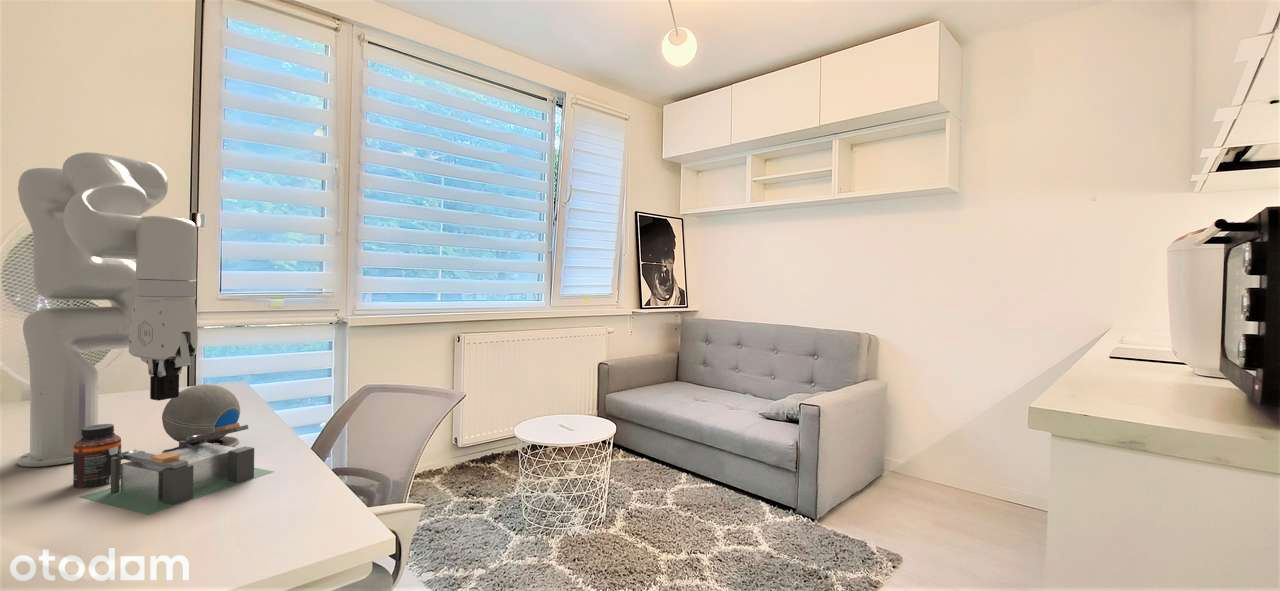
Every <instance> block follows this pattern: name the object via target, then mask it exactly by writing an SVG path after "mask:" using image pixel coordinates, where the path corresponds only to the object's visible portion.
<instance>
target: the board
mask: <svg viewBox="0 0 1280 591" xmlns="http://www.w3.org/2000/svg"><path fill="white" fill-rule="evenodd" d="M205 442H206V443H207V438H206V439H201V440H200V444H201V443H205ZM178 447H179V449H182V448H186V447H187V441H179V442H178ZM237 448H238V449H234V450H230V451H228V479H226V480H223V481H220V482H217V483H214V484H211V485H208V486H205V487H202V488H199V489H196V490H193V465H190V464H188V466H185V467H182V468H178V469H175V470H173V469H168V468H165V469H163V500H162V501H159V502H158V501H153V500H149V499H145V498H141V497H137V496H133V495H128V494H124V493H121V479H120V458H119V457H113V458H111V484H110V487H109V488H106V489H101V490H98V491H95V492H91V493H87V494H84V495H80V496H79V498H81V499H84V500H89V501H93V502H97V503H100V504H104V505H108V506H112V507H116V508H120V509H124V510H129V511H131V512H136V513H140V514H143V515H151V514H153V513H156V512H160V511H162V510H167V509H170V508H172V507H174V506H177V505H181V504H183V503H187V502H190V501H192V500H195V499H198V498H202V497H205V496H207V495H210V494H213V493H216V492H218V491H222V490H224V489H225V490H226V489H228V488H230V487H234V486H236V485H239V484H243V483H245V482H248V481H251V480H252V481H253V480H254V479H257V478H260V477H264V476H266V475H269V474H272V473H274V472H275V471H274V470H268V469H263V468H260V467H259V468H257V467H255V447H250V446H242V447H237ZM139 452H144V453H146V452H145V451H144V450H139Z"/></svg>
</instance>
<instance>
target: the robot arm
mask: <svg viewBox="0 0 1280 591" xmlns="http://www.w3.org/2000/svg"><path fill="white" fill-rule="evenodd" d="M18 179H19V180H18V183H17V184H18V185H17V194H18V199H19V202H20V206H21V208H22V210H23V212H24V215H25V217H26V218H27V221H28V223H29V225H30V228H31V231H32V235H33V236H32V239H33V282H34V283H33V284H34V288H35V292H36V293H37V294H38V296H40V297H41V298H44V299H46V300H52V301H107V302H108V301H109V303H110V305H111V306H58V307H49V308H48V307H47V308H42V309H38V310H36V311H33V312H31V313H30V314H29V315H27V316H26V317H25V319H24V321H23V324H22V332H23V338H24V342H25V346H26V350H27V355H28V365H29V452H28V453H24V454H23V455H21V456H19V457H18V458H17V465H19V466H21V467H28V468H29V467H31V468H34V467H35V468H36V467H49V466H58V465H59V466H60V465H65V464H70V463H73V453H74V450H73V448H74V444H75V443H76V442H77V441H78V440H80V439H82V437H83V436H82V435H81V434H82V428H84V427H88V426H92V425H99V373H98V370H97V368H96V366H95V365H94V364H93V363H92V362H90V361H89V360H88V359H87V358H85V357H84V356H83V355H82V354H81V353H86V352H91V351H95V352H96V351H105V350H118V349H120V350H121V349H128V353H129V354H130V355H131V356H133V357H137V358H140V360H141V361H142V362H143V363H145V364H146V365H147V369H148V375H149V376H150V385H149V386H150V387H149V390H150V391H149V398H150V400H152V401H157V402H158V401H164V400H169V399H170V400H171V399H172V398H176V397H178V396H179V392H180V375H181V374H182V371H183V370H182V369H183V367H188V366H190V365H191V362H192V361H191V357H194V356H196V354H197V352H198V341H199V331H198V329H199V328H198V317H197V315H198V314H197V307H196V302H195V301H196V299H197V256H198V255H197V254H198V252H197V251H198V249H197V248H198V228H197V225H196V224H195V222H193V221H192V220H189V219H186V218H180V217H172V216H160V215H146V216H144V215H142V214H144V213H147V212H148V211H149V210H151V209H152V208H154V207H156V206H157V205H159V204H160V203H161V202H162V201H163V200H164V199H165V198H166V196H167V193H168V190H169V182H168V177H167V176H166V174H165V172H164V170H162V168H161V167H159V166H158V165H156V164H155V163H152V162H149V161H145V160H141V159H140V160H139V159H134V158H129V157H125V156H124V157H123V156H118V155H112V154H107V153H106V154H105V153H99V152H80V153H75V154H73V155H70V156H69V157H68V158H67V159H65V160H64V162H63V165H62V168H55V167H54V168H53V167H34V168H29V169H27V170H25V171H23V172H22V173H21V175H20V177H19V178H18ZM133 260H135V262H134V261H133Z"/></svg>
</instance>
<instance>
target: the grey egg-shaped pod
mask: <svg viewBox="0 0 1280 591" xmlns="http://www.w3.org/2000/svg"><path fill="white" fill-rule="evenodd" d="M240 414H241V407H240V403H239V400H238V399H237V396H235V394H233V393H232V392H231V391H230V390H229V389H227V388H225V387H222V386H220V385H215V384H198V385H193V386H190V387H187V388H186V389H185V388H184V389H183V390H181V391H179V396H178V397H176V398H171V399H170V400H169V401H168V402H167V403H166V405H165V407H164V408H163V411H162V414H161V420H162V421H161V422H162V426H163V429H164V431H165V433H166V434H167V435H168V437H170V438H171V439H173V440H174V441H176V442H178V443H179V441H185V438H186V437H190V436H194V435H199V434H200V435H203V434H208V433H212V432H215V428H219V427H223V426H227V425H232V424H236V423H239V422H238V421H239V419H240ZM227 435H228V434H224V435H220V436H215V437H210V438H207V443H211V444H217V443H220V444H218V445H223V446H228V447H234V448H236V447H237V446H238V445H239V444H240V440H239V438H236V437H233V436H227ZM197 444H200V441H196V442H192V443H188V444H187V447H190V446H193V445H197ZM178 449H179V446H176V447H173V448H167V449H163V451H162V452H161V454H162V453H166V452H170V451H174V450H178Z"/></svg>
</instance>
